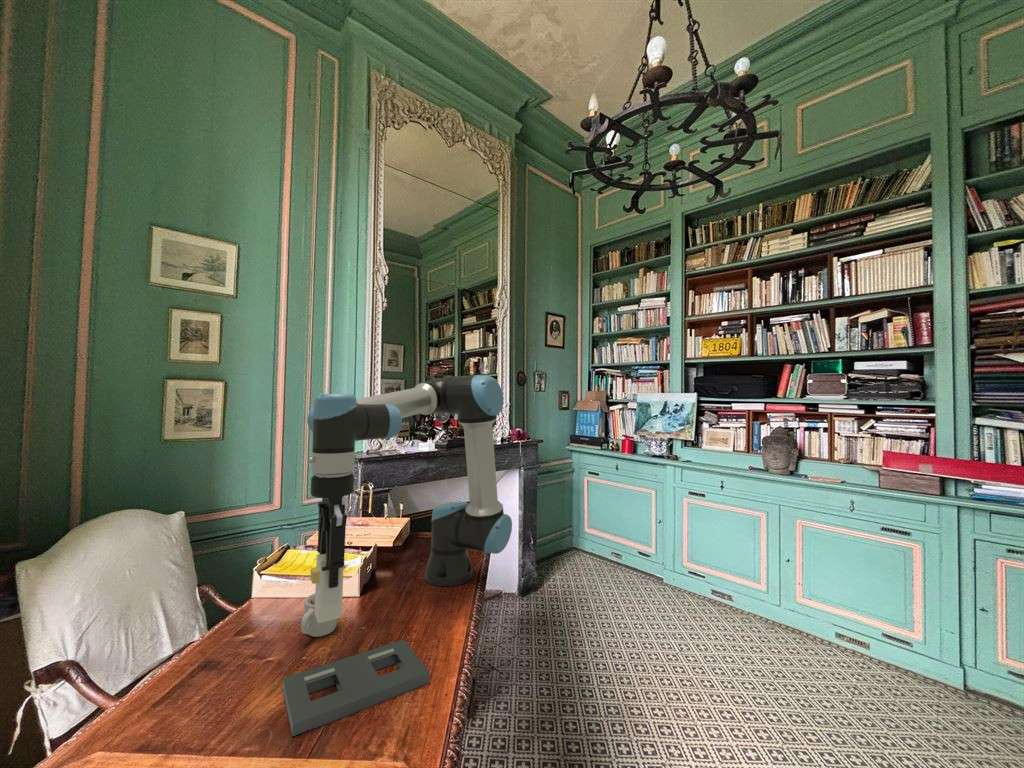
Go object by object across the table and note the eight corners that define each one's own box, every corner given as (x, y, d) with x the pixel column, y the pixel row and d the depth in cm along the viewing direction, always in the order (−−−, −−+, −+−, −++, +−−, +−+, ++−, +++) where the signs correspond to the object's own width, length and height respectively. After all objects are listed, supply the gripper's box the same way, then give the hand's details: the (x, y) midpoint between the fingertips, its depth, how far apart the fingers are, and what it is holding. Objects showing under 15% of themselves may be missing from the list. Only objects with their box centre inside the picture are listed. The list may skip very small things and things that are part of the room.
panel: (403, 648, 92) (404, 638, 92) (429, 683, 81) (429, 672, 81) (282, 688, 78) (283, 677, 78) (292, 737, 67) (292, 724, 67)
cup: (317, 650, 91) (318, 613, 92) (286, 645, 93) (288, 609, 93) (346, 625, 102) (347, 592, 102) (317, 621, 103) (319, 588, 104)
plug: (336, 608, 80) (338, 551, 81) (341, 617, 77) (343, 557, 77) (308, 615, 77) (310, 556, 78) (311, 625, 74) (314, 563, 74)
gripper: (304, 469, 83) (299, 586, 82) (320, 483, 69) (315, 624, 68) (343, 466, 88) (339, 578, 86) (365, 478, 74) (361, 611, 73)
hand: (328, 598), depth 77 cm, fingers closed on plug, 4 cm apart
